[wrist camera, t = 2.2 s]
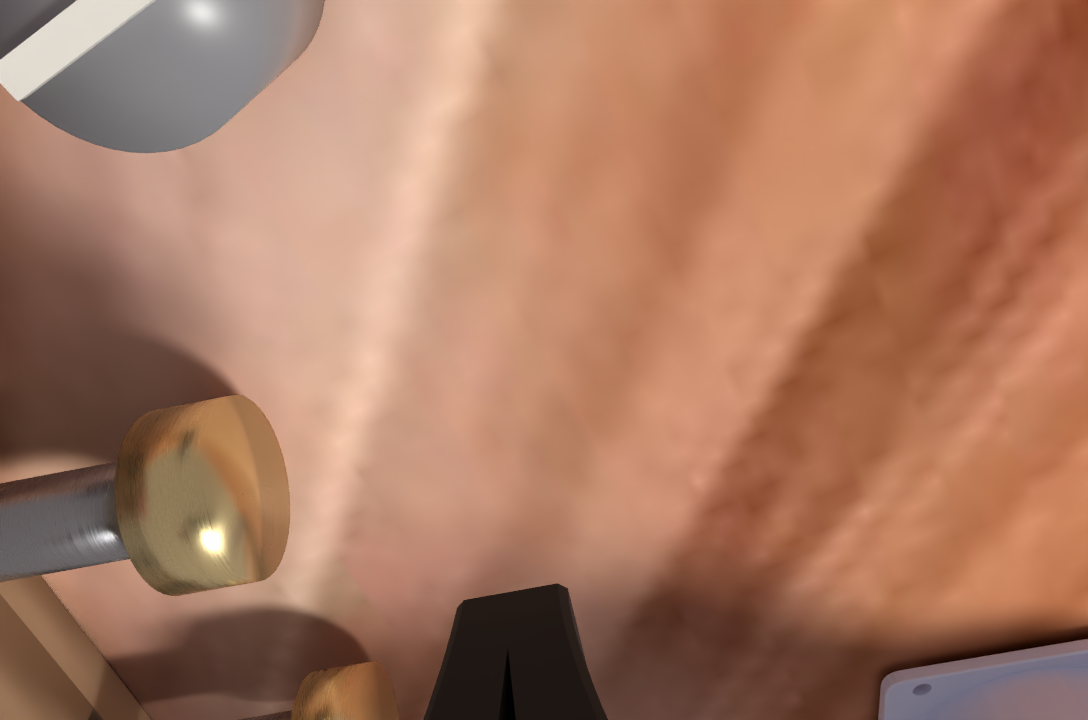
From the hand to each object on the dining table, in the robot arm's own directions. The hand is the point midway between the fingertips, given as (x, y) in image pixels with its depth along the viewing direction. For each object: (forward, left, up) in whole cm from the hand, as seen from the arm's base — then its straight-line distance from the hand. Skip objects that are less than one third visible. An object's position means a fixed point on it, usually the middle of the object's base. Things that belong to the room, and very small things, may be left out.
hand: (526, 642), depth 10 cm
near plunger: (+9, 0, -6) cm, 11 cm away
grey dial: (+3, -8, -7) cm, 11 cm away
